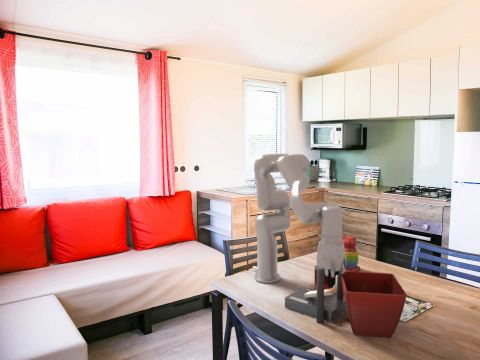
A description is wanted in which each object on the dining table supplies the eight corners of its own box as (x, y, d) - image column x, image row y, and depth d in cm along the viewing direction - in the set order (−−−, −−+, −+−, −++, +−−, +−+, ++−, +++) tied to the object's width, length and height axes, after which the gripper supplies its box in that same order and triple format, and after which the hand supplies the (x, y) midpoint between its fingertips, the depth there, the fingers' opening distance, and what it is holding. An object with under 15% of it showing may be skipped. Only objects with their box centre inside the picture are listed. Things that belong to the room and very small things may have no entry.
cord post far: (335, 305, 148) (336, 257, 145) (338, 303, 150) (339, 255, 147) (341, 307, 146) (342, 258, 144) (344, 305, 148) (345, 257, 146)
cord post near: (315, 322, 135) (315, 269, 132) (318, 319, 137) (319, 267, 134) (321, 324, 133) (322, 271, 131) (324, 321, 135) (325, 269, 133)
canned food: (333, 295, 157) (333, 270, 156) (314, 294, 159) (314, 269, 158) (332, 288, 165) (333, 264, 163) (314, 287, 166) (314, 263, 165)
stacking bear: (360, 268, 189) (361, 234, 187) (358, 275, 180) (359, 239, 178) (339, 265, 194) (340, 232, 192) (335, 272, 184) (336, 237, 182)
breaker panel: (284, 307, 147) (284, 293, 146) (301, 296, 157) (301, 283, 156) (331, 323, 134) (331, 307, 134) (346, 309, 144) (346, 295, 144)
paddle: (305, 297, 146) (304, 293, 146) (310, 294, 149) (309, 290, 149) (331, 295, 138) (330, 291, 138) (336, 291, 141) (335, 287, 141)
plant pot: (405, 344, 120) (407, 294, 118) (345, 340, 123) (345, 291, 121) (391, 316, 139) (393, 273, 137) (339, 313, 142) (339, 270, 140)
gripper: (308, 237, 140) (308, 284, 142) (346, 244, 130) (345, 294, 133) (318, 233, 146) (317, 278, 148) (354, 239, 136) (353, 287, 138)
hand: (331, 285), depth 140 cm, fingers closed
